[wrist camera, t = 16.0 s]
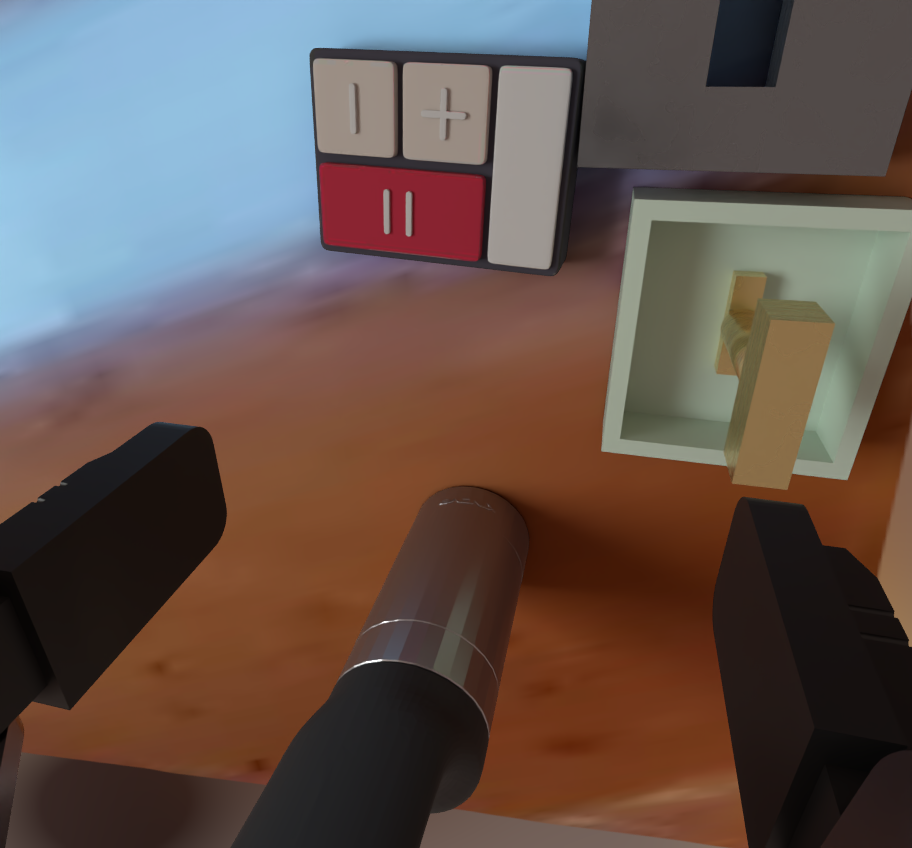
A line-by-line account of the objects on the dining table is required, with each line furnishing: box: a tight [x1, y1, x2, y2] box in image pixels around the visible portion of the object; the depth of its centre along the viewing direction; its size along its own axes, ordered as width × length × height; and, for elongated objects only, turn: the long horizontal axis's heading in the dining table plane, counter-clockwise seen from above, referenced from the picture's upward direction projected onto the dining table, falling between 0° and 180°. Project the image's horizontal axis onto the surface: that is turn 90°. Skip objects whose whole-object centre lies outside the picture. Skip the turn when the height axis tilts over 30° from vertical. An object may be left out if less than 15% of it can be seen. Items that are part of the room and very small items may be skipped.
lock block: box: [577, 0, 912, 176], centre depth 29 cm, size 14×14×5 cm
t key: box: [714, 270, 835, 490], centre depth 33 cm, size 8×2×12 cm, turn 0°
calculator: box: [310, 48, 586, 276], centre depth 37 cm, size 11×4×15 cm
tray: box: [601, 187, 912, 480], centre depth 37 cm, size 15×14×4 cm
